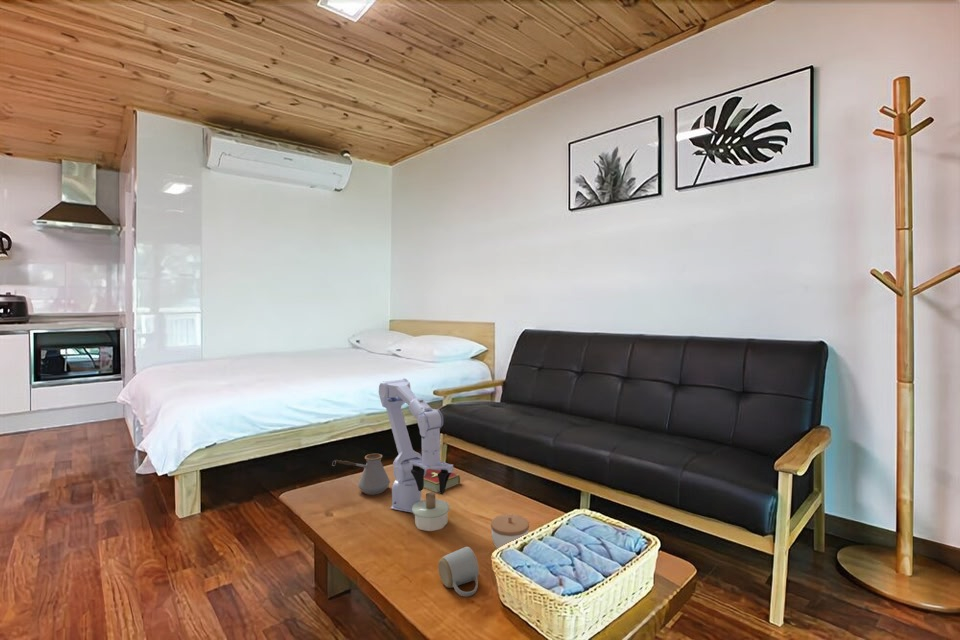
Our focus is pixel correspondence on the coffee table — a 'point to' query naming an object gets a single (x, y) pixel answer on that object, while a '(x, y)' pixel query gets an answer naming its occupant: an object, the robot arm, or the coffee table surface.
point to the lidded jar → (508, 528)
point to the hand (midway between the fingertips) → (431, 491)
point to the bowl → (431, 523)
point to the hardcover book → (433, 481)
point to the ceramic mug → (459, 570)
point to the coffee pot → (371, 474)
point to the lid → (430, 507)
